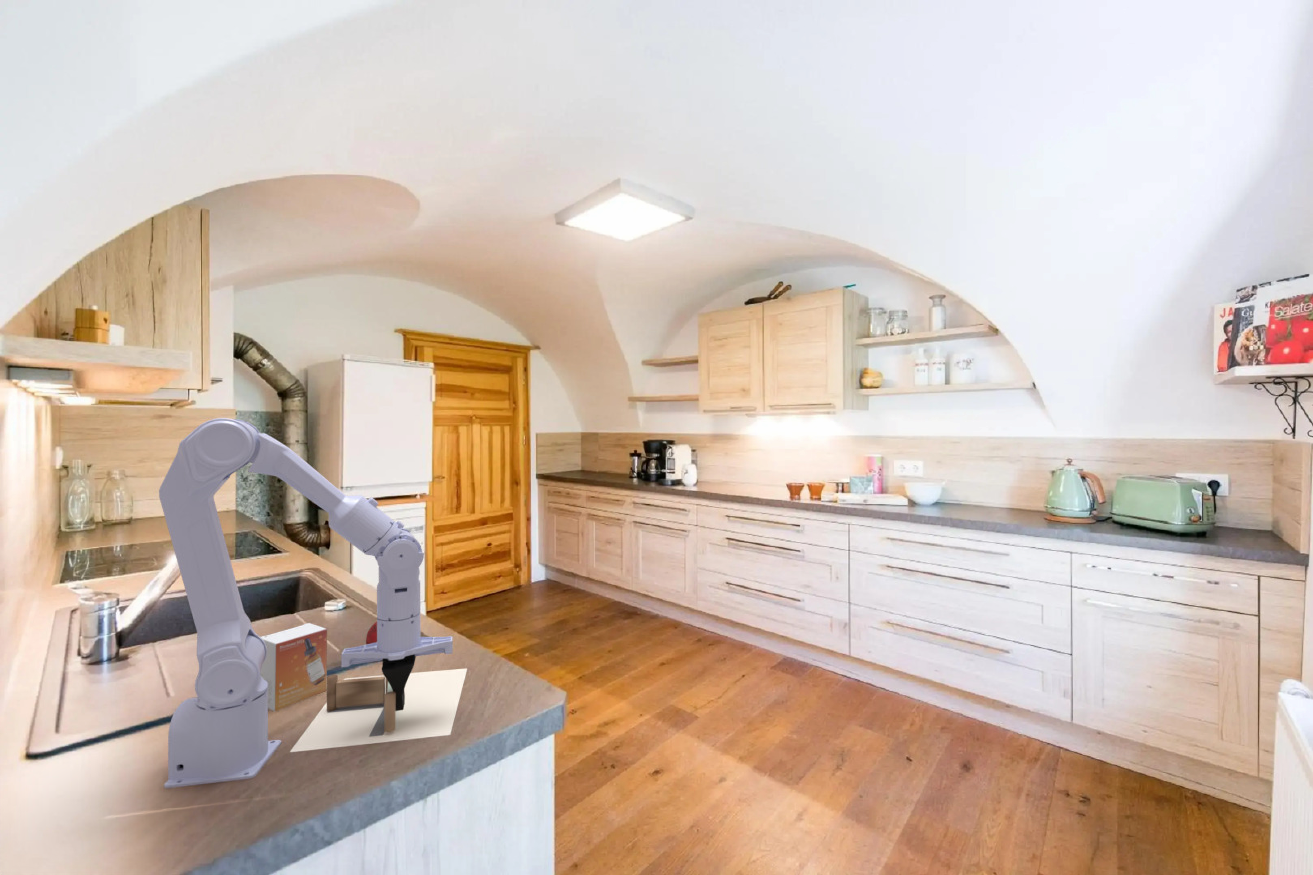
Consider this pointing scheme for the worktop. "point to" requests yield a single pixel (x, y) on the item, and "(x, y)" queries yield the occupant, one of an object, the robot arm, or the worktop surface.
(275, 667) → the small box
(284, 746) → the worktop surface
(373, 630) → the onion
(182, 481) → the robot arm
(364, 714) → the card
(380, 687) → the fixed fence
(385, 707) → the panel
